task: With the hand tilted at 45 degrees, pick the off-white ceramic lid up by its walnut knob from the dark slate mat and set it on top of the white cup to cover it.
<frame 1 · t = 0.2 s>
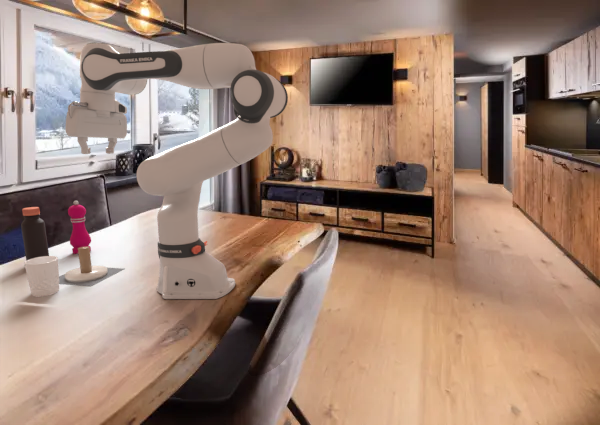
hand: (98, 153, 117), 39 cm above the table, tool pointing down, fingers open, 8 cm apart
bottle: (38, 265, 142), on the table
pepper mill: (81, 252, 157), on the table
lid: (86, 275, 129), point 1 cm above the table, touching slate mat
slate mat: (87, 277, 129), on the table
white cup: (46, 294, 116), on the table
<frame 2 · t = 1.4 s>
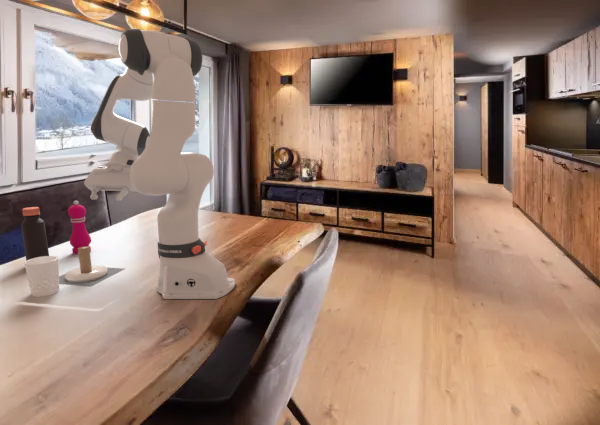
hand: (105, 199, 136), 23 cm above the table, tool tilted 45°, fingers open, 8 cm apart
nothing on the table moved.
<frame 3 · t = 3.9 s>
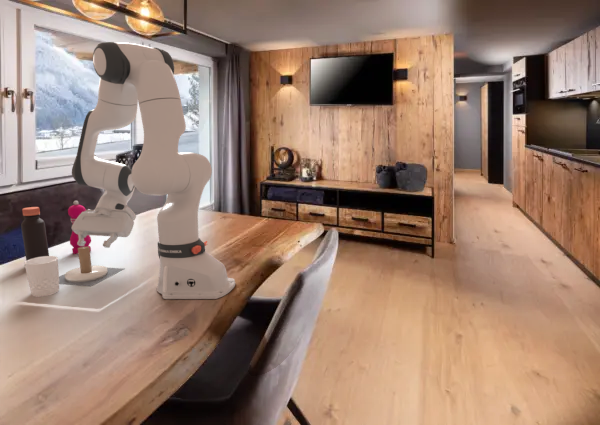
hand: (92, 246, 131), 9 cm above the table, tool tilted 45°, fingers open, 8 cm apart
nothing on the table moved.
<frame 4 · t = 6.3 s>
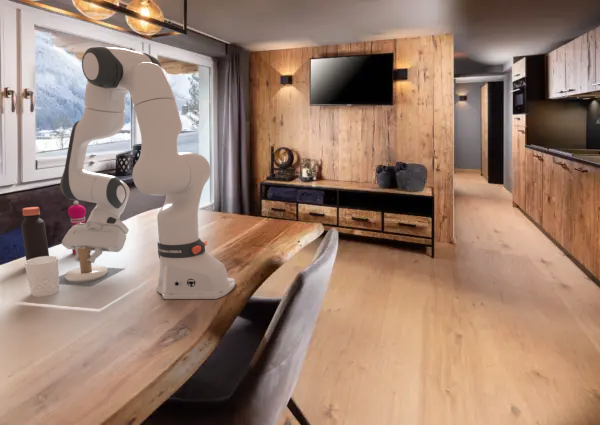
hand: (83, 261, 127), 5 cm above the table, tool tilted 45°, fingers closed on lid, 3 cm apart
lid: (86, 275, 129), point 1 cm above the table, touching gripper, slate mat
everything else where it was.
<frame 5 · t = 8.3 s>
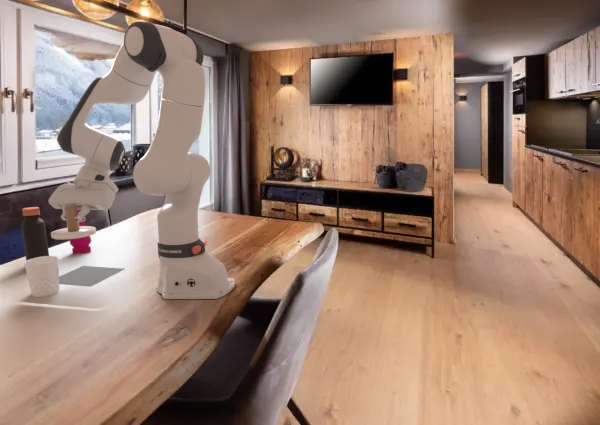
hand: (70, 219, 122), 19 cm above the table, tool tilted 45°, fingers closed on lid, 3 cm apart
lid: (74, 234, 124), point 15 cm above the table, touching gripper
everything else where it was.
when the fingers open (16 cm above the table, at t = 10.5 s): lid drops 2 cm, resting on white cup.
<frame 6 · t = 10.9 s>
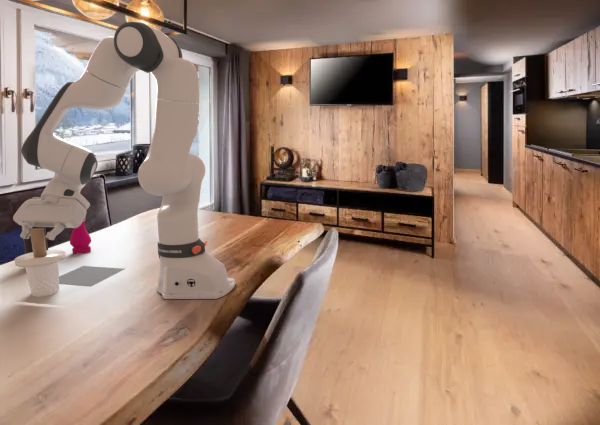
hand: (36, 238, 112), 16 cm above the table, tool tilted 45°, fingers open, 7 cm apart
lid: (41, 260, 114), point 10 cm above the table, touching white cup
white cup: (46, 294, 116), on the table, touching lid
everything else where it was.
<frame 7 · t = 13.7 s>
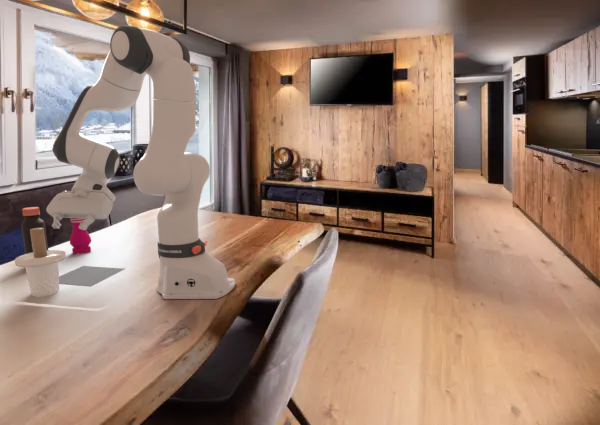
hand: (68, 228, 123), 16 cm above the table, tool tilted 45°, fingers open, 8 cm apart
nothing on the table moved.
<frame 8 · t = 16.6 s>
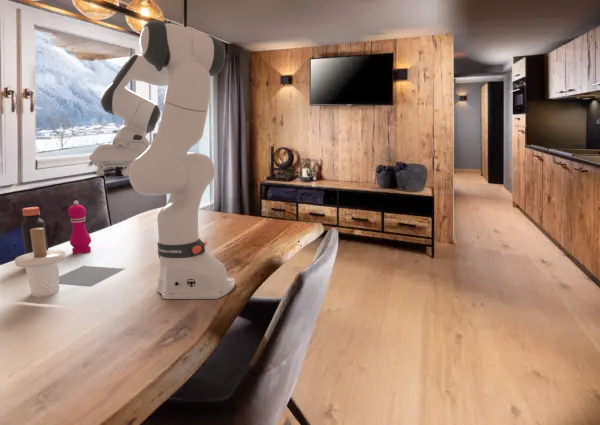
hand: (111, 174, 133), 31 cm above the table, tool tilted 45°, fingers open, 8 cm apart
nothing on the table moved.
at the end: lid 0.0 cm off-centre on the white cup, point 10.2 cm above the white cup's base; lid tilted 0°; white cup tilted 0° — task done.
